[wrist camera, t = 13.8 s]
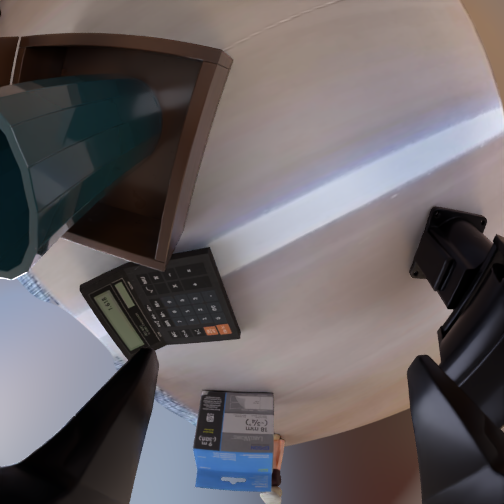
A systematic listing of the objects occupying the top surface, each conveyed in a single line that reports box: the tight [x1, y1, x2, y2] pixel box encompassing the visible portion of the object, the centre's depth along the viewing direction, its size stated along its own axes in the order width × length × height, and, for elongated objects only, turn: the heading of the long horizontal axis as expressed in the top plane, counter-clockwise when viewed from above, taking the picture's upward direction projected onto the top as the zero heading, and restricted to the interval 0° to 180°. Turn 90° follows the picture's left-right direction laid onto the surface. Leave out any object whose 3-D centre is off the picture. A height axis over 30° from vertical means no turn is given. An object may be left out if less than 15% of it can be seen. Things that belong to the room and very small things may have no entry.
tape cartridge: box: [193, 391, 274, 492], centre depth 29 cm, size 9×4×12 cm, turn 91°
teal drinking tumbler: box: [0, 73, 163, 280], centre depth 11 cm, size 7×7×12 cm
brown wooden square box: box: [12, 33, 233, 272], centre depth 15 cm, size 12×12×5 cm
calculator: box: [80, 247, 241, 360], centre depth 24 cm, size 9×12×3 cm
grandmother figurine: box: [260, 434, 285, 504], centre depth 36 cm, size 8×4×13 cm, turn 29°
